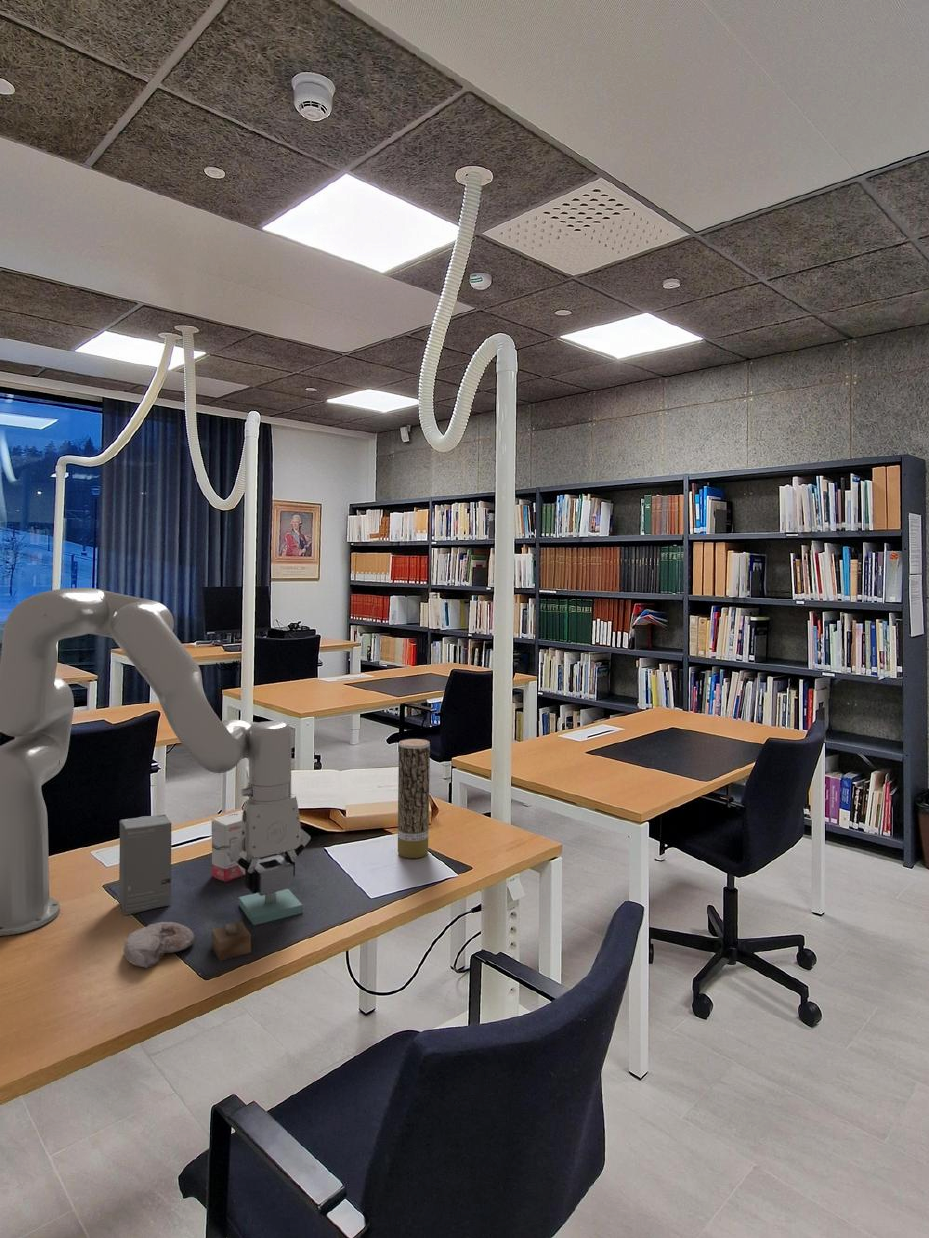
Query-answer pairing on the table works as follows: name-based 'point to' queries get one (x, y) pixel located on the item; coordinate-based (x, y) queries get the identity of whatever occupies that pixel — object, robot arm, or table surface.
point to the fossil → (156, 942)
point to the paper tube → (413, 798)
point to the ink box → (226, 846)
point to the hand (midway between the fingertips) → (270, 884)
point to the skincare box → (145, 863)
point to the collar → (274, 875)
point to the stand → (231, 941)
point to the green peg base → (270, 906)
